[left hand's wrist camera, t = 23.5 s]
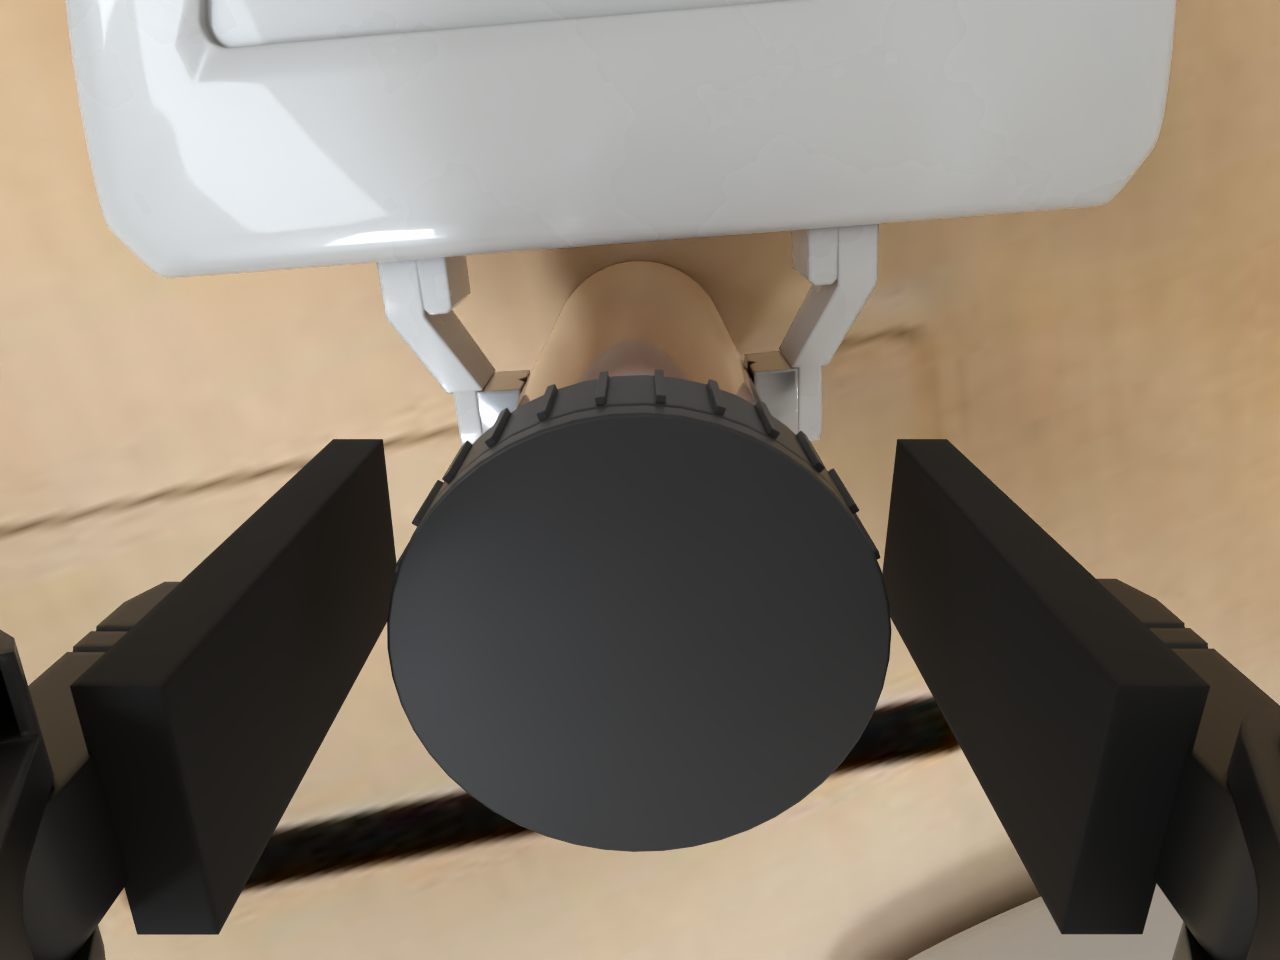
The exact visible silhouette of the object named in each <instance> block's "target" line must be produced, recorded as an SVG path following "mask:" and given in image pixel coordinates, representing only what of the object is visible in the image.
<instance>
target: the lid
mask: <svg viewBox="0 0 1280 960" xmlns="http://www.w3.org/2000/svg"><path fill="white" fill-rule="evenodd" d="M442 479H443V480H444V483H443V482H441V481H439V480H437V482H436V484H435V485H434V487H433V489H432V490H431V492H430V493H429V495H428V497H427V498H426V500H425V501H424V503H423V505H422V506H421V508H420V510H419V511H418V513H417V514H416V516H415V518H414V520H413V522H412V524H414V525H416V526H418V527H417V528H416V530H415V532H414V533H413V535H412V537H411V540H410V542H409V543H408V545H407V547H406V548H405V550H404V552H403V553H402V555H401V557H400V558H399V560H398V562H397V564H396V566H395V570H394V571H395V572H397V573H396V577H395V580H394V583H393V587H392V590H391V597H390V604H389V611H388V618H387V633H388V653H389V659H390V665H391V671H392V677H393V680H394V683H395V687H396V690H397V693H398V696H399V699H400V702H401V705H402V707H403V709H404V711H405V713H406V715H407V718H408V720H409V722H410V724H411V726H412V728H413V730H414V732H415V733H416V735H417V736H418V738H419V739H420V741H421V742H422V744H423V745H424V747H425V748H426V750H427V751H428V753H429V754H430V755H431V756H432V757H433V759H434V760H435V761H436V762H437V763H438V764H439V766H440V767H441V768H442V769H443V770H444V771H445V772H446V774H447V775H448V776H449V777H450V778H452V779H453V780H454V781H455V782H456V783H457V784H458V785H459V786H461V787H462V788H463V789H464V790H465V791H466V792H467V793H468V794H469V795H471V796H472V797H474V798H475V799H477V800H478V801H479V802H481V803H482V804H484V805H485V806H487V807H488V808H489V809H491V810H492V811H494V812H496V813H497V814H499V815H501V816H503V817H505V818H507V819H509V820H510V821H512V822H514V823H516V824H518V825H520V826H522V827H525V828H527V829H530V830H532V831H535V832H537V833H540V834H542V835H544V836H547V837H551V838H554V839H558V840H561V841H565V842H568V843H572V844H575V845H581V846H587V847H592V848H598V849H604V850H618V851H632V852H637V851H665V850H672V849H679V848H687V847H693V846H698V845H702V844H706V843H710V842H714V841H718V840H722V839H725V838H727V837H730V836H733V835H736V834H739V833H741V832H744V831H747V830H750V829H752V828H754V827H756V826H758V825H760V824H762V823H764V822H766V821H768V820H770V819H772V818H774V817H776V816H778V815H779V814H781V813H782V812H784V811H785V810H787V809H789V808H790V807H792V806H793V805H795V804H796V803H798V802H800V801H801V800H802V799H803V798H805V797H806V796H807V795H808V794H809V793H811V792H812V791H813V790H814V789H816V788H817V787H818V786H819V785H821V784H822V783H823V782H824V781H825V780H826V779H827V778H828V777H829V776H830V774H831V773H832V772H833V771H834V770H835V769H836V768H837V767H838V766H839V765H840V764H841V763H842V762H843V761H844V759H845V758H846V756H847V755H848V754H849V752H850V751H851V750H852V748H853V747H854V746H855V744H856V743H857V742H858V740H859V739H860V737H861V735H862V733H863V731H864V730H865V728H866V726H867V724H868V722H869V720H870V719H871V717H872V715H873V712H874V710H875V707H876V705H877V702H878V699H879V697H880V694H881V691H882V689H883V685H884V681H885V676H886V672H887V667H888V663H889V656H890V642H891V621H890V609H889V600H888V596H887V591H886V587H885V583H884V579H883V575H882V571H881V569H880V566H879V564H878V562H877V559H879V558H880V555H879V552H878V550H877V548H876V546H875V545H874V543H873V541H872V540H871V538H870V536H869V535H868V533H867V531H866V530H865V528H864V526H863V525H862V523H861V521H860V520H859V518H858V516H857V515H856V512H858V511H859V509H858V507H857V505H856V504H855V502H854V501H853V499H852V497H851V496H850V494H849V492H848V491H847V489H846V488H845V486H844V484H843V483H842V481H841V479H840V478H839V476H838V475H837V473H836V471H835V470H834V469H831V470H830V471H827V470H826V468H825V466H824V464H823V463H822V461H821V459H820V458H819V456H818V454H817V452H816V451H815V449H814V447H813V446H812V444H811V442H810V441H809V439H808V437H807V435H806V434H805V433H803V432H802V431H800V432H799V433H798V434H795V433H794V432H792V431H791V430H790V429H789V428H788V427H787V426H786V425H785V424H783V423H782V422H780V421H779V420H777V419H776V418H775V417H773V416H772V415H771V414H770V412H769V410H768V408H767V406H766V404H765V403H764V402H762V401H760V400H758V401H757V403H756V405H754V404H752V403H750V402H748V401H746V400H744V399H743V398H741V397H739V396H737V395H735V394H732V393H729V392H726V391H724V390H721V389H719V386H718V383H717V381H714V380H711V379H709V380H708V383H707V384H703V383H698V382H694V381H689V380H685V379H680V378H674V377H664V371H663V370H655V372H654V376H652V375H630V376H612V377H609V372H608V371H604V372H600V373H599V379H594V380H588V381H583V382H579V383H576V384H573V385H570V386H566V387H563V388H560V389H557V387H556V385H555V384H553V385H550V386H547V388H546V391H545V394H544V395H543V396H540V397H538V398H536V399H534V400H532V401H529V402H527V403H525V404H524V405H522V406H521V407H519V408H517V409H516V410H514V411H513V412H510V411H509V409H508V408H505V409H504V410H502V411H501V412H500V414H499V415H498V417H497V419H496V421H495V423H494V425H493V426H492V427H491V428H489V429H488V430H487V431H486V432H485V433H484V434H482V435H481V436H480V437H479V438H478V439H477V440H476V441H475V442H474V443H473V444H471V443H470V442H469V441H468V440H467V441H466V442H465V443H464V444H463V445H462V447H461V448H460V450H459V452H458V453H457V455H456V457H455V458H454V460H453V462H452V463H451V465H450V467H449V468H448V470H447V472H446V473H445V475H444V477H443V478H442Z"/></svg>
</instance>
